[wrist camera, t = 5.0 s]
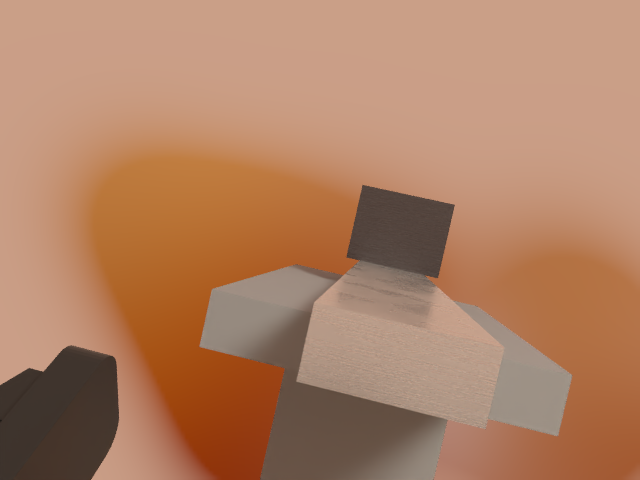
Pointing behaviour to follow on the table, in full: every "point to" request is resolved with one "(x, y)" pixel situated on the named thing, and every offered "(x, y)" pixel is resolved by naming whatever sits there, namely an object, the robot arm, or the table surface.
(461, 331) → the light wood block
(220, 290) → the gray stand
